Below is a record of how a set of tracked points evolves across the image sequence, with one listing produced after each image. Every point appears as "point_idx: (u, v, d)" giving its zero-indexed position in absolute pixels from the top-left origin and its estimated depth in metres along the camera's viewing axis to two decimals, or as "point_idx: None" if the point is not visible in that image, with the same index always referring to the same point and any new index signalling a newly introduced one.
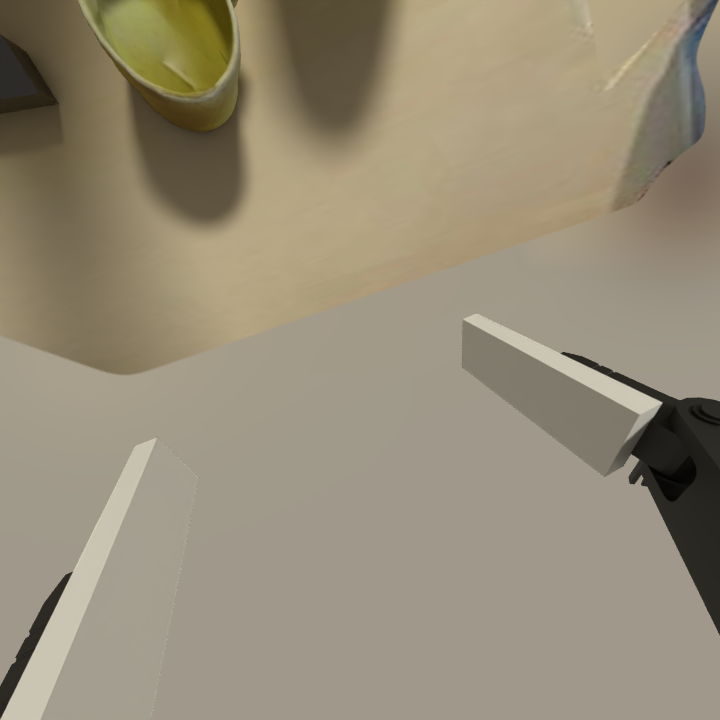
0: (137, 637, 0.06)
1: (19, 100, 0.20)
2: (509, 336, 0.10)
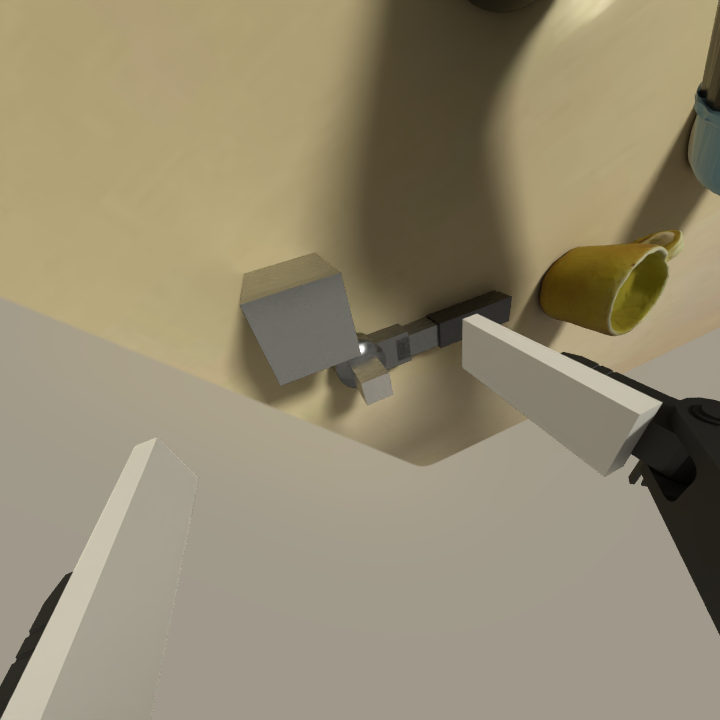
0: (137, 637, 0.06)
1: None
2: (509, 336, 0.10)
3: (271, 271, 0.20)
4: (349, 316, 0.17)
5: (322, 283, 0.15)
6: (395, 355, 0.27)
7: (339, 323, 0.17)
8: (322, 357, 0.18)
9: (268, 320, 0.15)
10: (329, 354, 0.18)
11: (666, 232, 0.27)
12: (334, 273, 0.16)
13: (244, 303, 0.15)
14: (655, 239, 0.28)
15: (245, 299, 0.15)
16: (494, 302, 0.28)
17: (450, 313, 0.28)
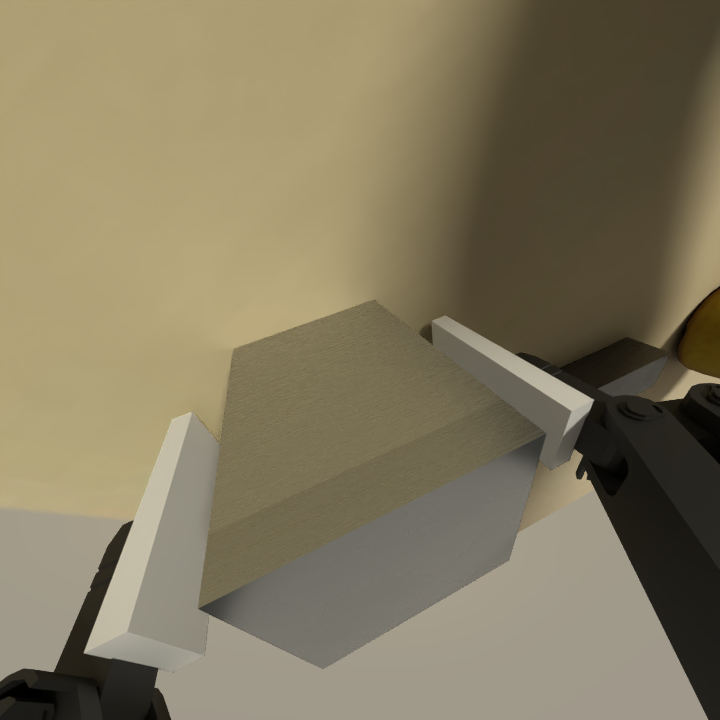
0: (191, 575, 0.07)
1: None
2: (470, 337, 0.10)
3: (293, 355, 0.09)
4: (518, 513, 0.06)
5: (487, 472, 0.05)
6: None
7: (491, 533, 0.06)
8: (430, 595, 0.07)
9: (304, 598, 0.05)
10: (446, 585, 0.07)
11: None
12: (521, 432, 0.05)
13: (218, 593, 0.04)
14: None
15: (225, 546, 0.04)
16: (645, 363, 0.17)
17: None
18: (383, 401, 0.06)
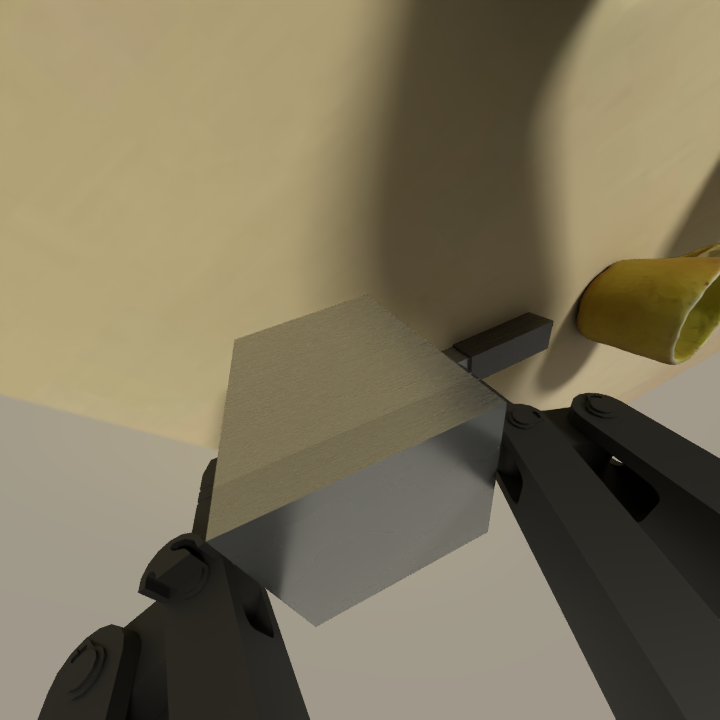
0: None
1: None
2: None
3: (290, 344, 0.09)
4: (490, 482, 0.07)
5: (455, 436, 0.05)
6: None
7: (466, 499, 0.07)
8: (413, 560, 0.08)
9: (296, 545, 0.05)
10: (428, 551, 0.08)
11: None
12: (485, 402, 0.05)
13: (222, 530, 0.04)
14: (716, 251, 0.24)
15: (228, 496, 0.05)
16: (533, 328, 0.23)
17: (482, 342, 0.23)
18: (369, 380, 0.07)
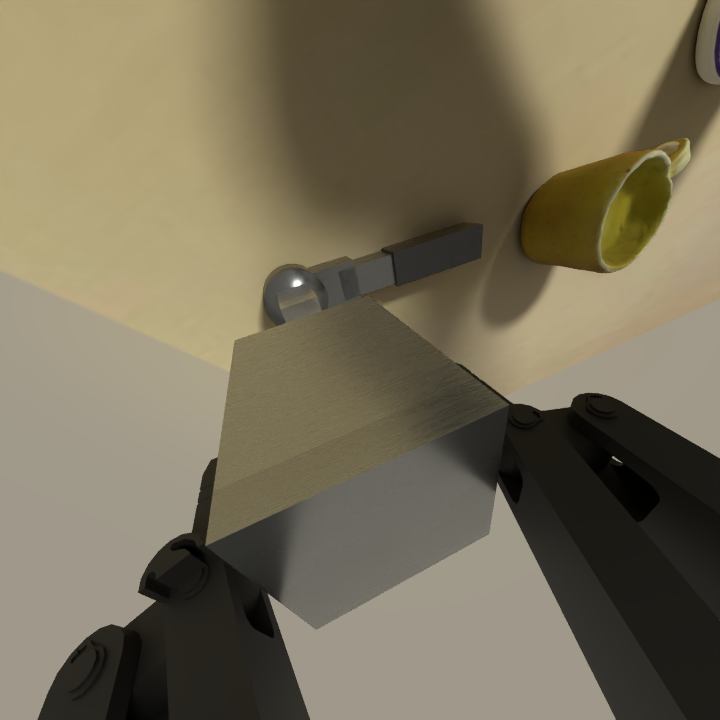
0: None
1: None
2: None
3: (290, 345, 0.09)
4: (492, 484, 0.07)
5: (457, 438, 0.05)
6: (340, 292, 0.23)
7: (467, 501, 0.07)
8: (414, 562, 0.08)
9: (297, 548, 0.05)
10: (429, 553, 0.08)
11: (669, 143, 0.23)
12: (487, 404, 0.05)
13: (222, 534, 0.04)
14: None
15: (228, 499, 0.05)
16: (461, 230, 0.23)
17: (408, 243, 0.23)
18: (370, 382, 0.07)
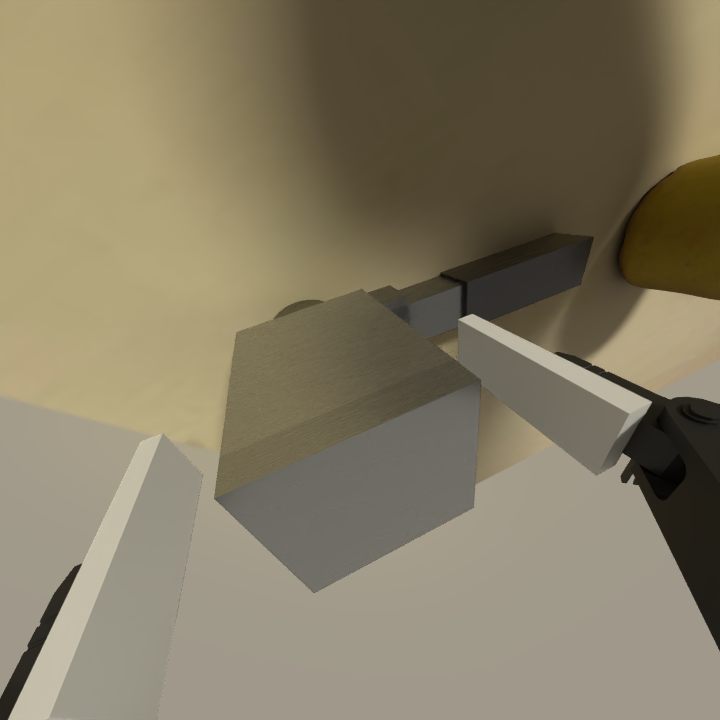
0: (145, 627, 0.06)
1: None
2: (503, 336, 0.10)
3: (288, 334, 0.10)
4: (472, 456, 0.07)
5: (434, 409, 0.06)
6: None
7: (449, 472, 0.07)
8: (403, 531, 0.08)
9: (294, 507, 0.06)
10: (417, 523, 0.08)
11: None
12: (462, 380, 0.06)
13: (229, 489, 0.05)
14: None
15: (233, 462, 0.06)
16: (563, 246, 0.16)
17: (484, 266, 0.16)
18: (360, 364, 0.07)
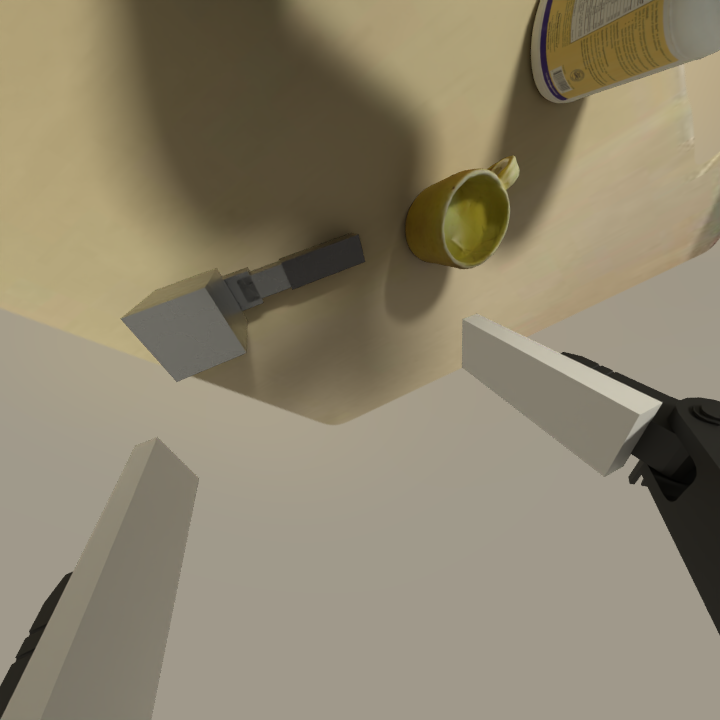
0: (137, 637, 0.06)
1: None
2: (509, 336, 0.10)
3: (171, 287, 0.23)
4: (224, 321, 0.21)
5: (190, 297, 0.19)
6: (242, 296, 0.28)
7: (216, 328, 0.21)
8: (209, 356, 0.22)
9: (149, 329, 0.19)
10: (215, 353, 0.22)
11: (504, 159, 0.28)
12: (200, 288, 0.19)
13: (125, 317, 0.18)
14: (497, 168, 0.28)
15: (128, 313, 0.19)
16: (340, 241, 0.29)
17: (298, 254, 0.29)
18: (182, 290, 0.21)
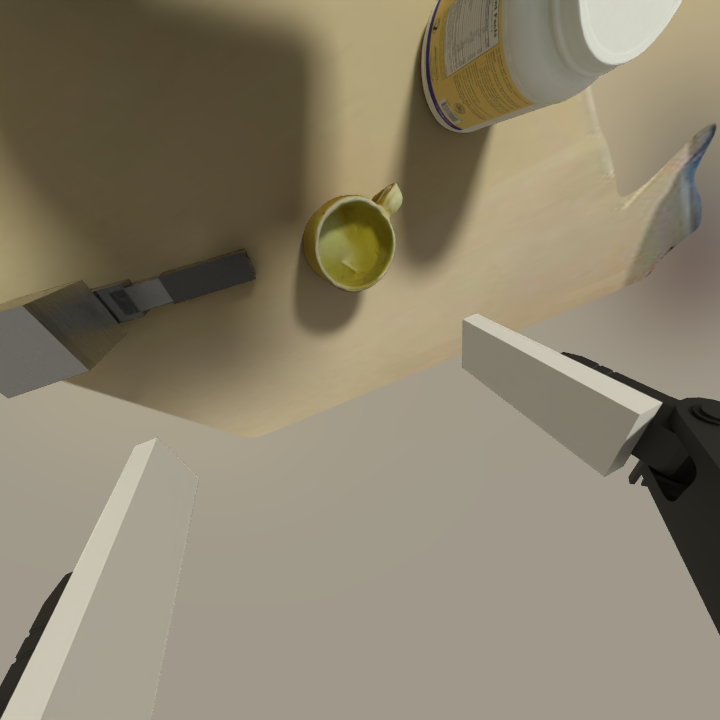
0: (137, 637, 0.06)
1: None
2: (509, 336, 0.10)
3: (20, 299, 0.23)
4: (54, 339, 0.20)
5: (6, 314, 0.19)
6: (117, 309, 0.27)
7: (46, 345, 0.20)
8: (44, 374, 0.21)
9: None
10: (50, 371, 0.21)
11: (389, 186, 0.28)
12: (18, 306, 0.19)
13: None
14: (385, 194, 0.28)
15: None
16: (224, 257, 0.28)
17: (180, 268, 0.28)
18: (11, 305, 0.20)
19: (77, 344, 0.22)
